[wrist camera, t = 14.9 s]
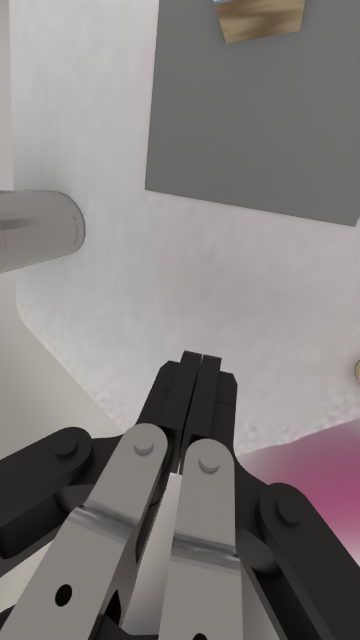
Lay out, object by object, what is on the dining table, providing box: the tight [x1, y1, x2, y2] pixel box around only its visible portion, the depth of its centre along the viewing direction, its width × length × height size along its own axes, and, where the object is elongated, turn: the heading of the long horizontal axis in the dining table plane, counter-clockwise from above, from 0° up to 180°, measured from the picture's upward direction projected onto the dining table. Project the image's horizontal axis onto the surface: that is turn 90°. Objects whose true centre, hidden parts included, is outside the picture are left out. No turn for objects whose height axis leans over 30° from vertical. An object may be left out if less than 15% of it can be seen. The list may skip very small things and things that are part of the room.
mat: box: [145, 0, 360, 227], centre depth 28 cm, size 26×24×1 cm
